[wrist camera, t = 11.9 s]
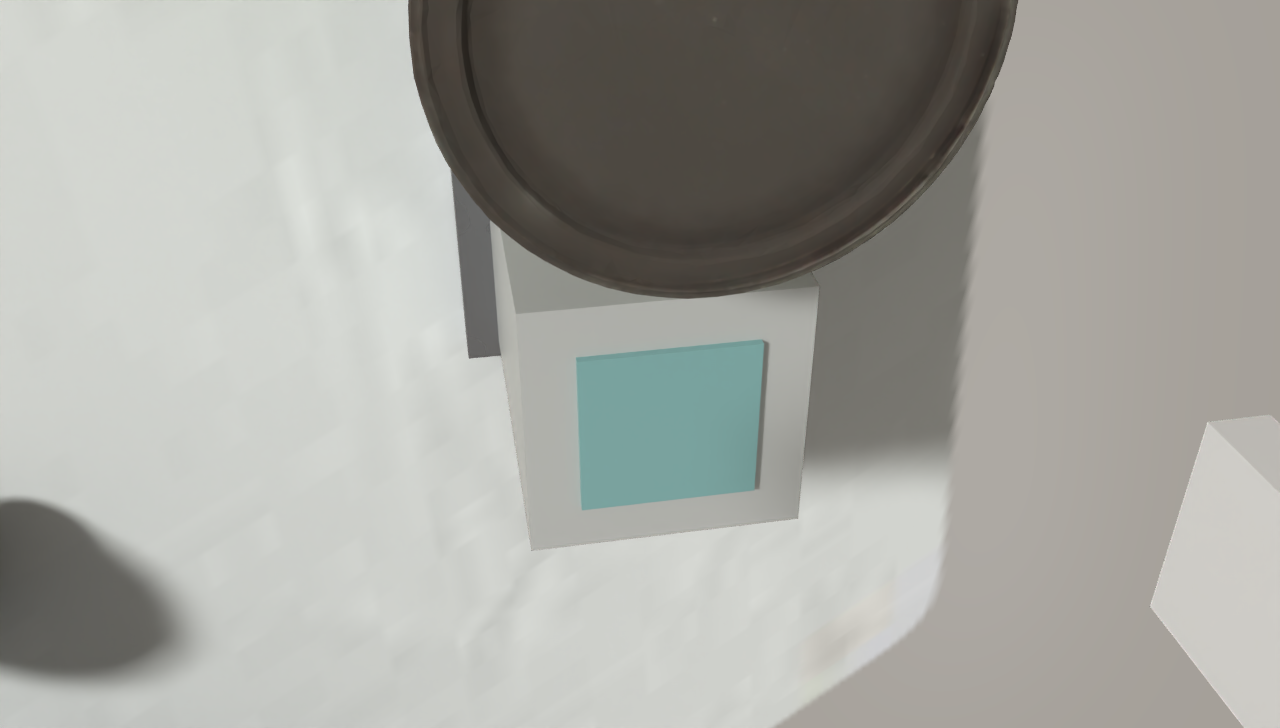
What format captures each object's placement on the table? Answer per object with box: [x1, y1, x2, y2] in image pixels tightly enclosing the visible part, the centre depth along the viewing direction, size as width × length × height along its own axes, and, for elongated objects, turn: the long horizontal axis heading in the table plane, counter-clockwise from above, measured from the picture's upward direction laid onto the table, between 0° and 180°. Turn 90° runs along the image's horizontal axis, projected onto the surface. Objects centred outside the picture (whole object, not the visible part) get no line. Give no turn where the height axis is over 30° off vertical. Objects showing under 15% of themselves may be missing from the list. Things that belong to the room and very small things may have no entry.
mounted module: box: [490, 220, 820, 551], centre depth 33 cm, size 7×7×10 cm
